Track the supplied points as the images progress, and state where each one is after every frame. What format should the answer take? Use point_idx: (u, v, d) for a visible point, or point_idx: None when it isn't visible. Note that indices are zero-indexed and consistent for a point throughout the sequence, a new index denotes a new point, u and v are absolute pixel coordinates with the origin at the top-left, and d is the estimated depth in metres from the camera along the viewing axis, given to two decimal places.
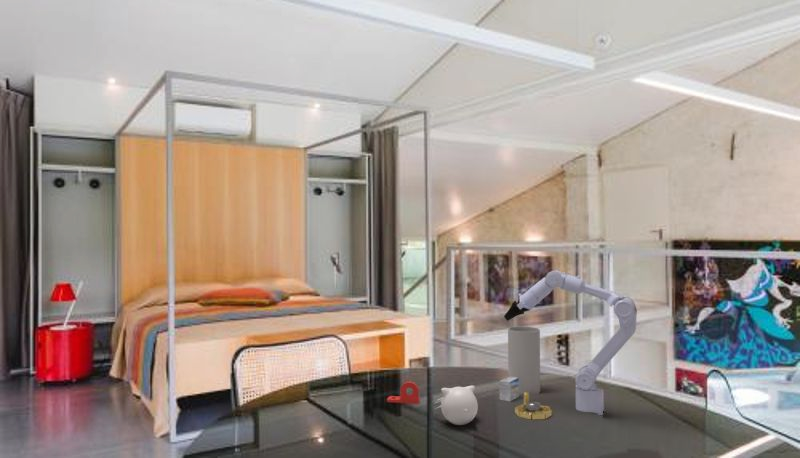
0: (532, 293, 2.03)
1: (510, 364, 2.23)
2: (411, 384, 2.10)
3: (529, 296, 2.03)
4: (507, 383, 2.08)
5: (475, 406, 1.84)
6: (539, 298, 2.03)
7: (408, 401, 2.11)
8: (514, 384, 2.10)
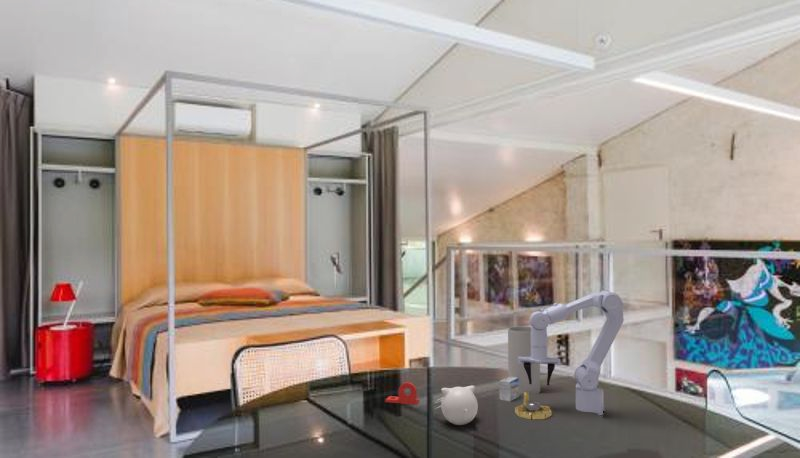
0: (546, 346, 1.98)
1: (510, 364, 2.23)
2: (409, 385, 2.10)
3: (546, 350, 1.98)
4: (507, 383, 2.08)
5: (475, 406, 1.84)
6: (545, 345, 1.97)
7: (406, 402, 2.10)
8: (514, 384, 2.10)
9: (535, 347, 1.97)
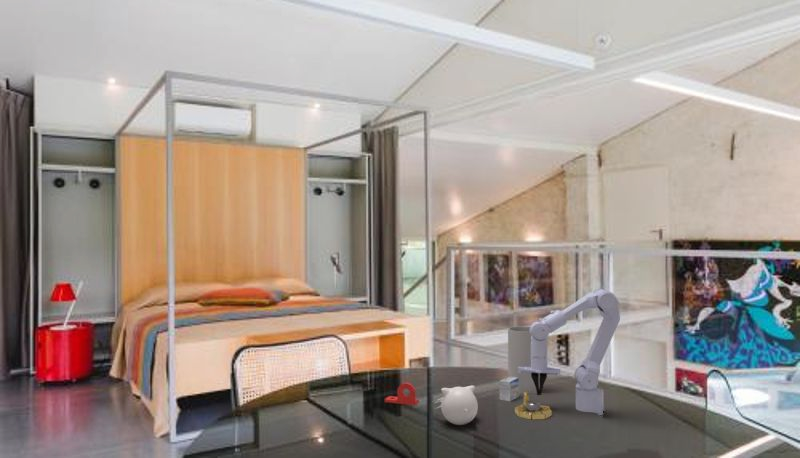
0: (546, 357, 1.98)
1: (510, 364, 2.23)
2: (408, 385, 2.09)
3: None
4: (507, 383, 2.08)
5: (475, 406, 1.84)
6: (545, 356, 1.97)
7: (405, 402, 2.09)
8: (514, 384, 2.10)
9: (535, 357, 1.97)
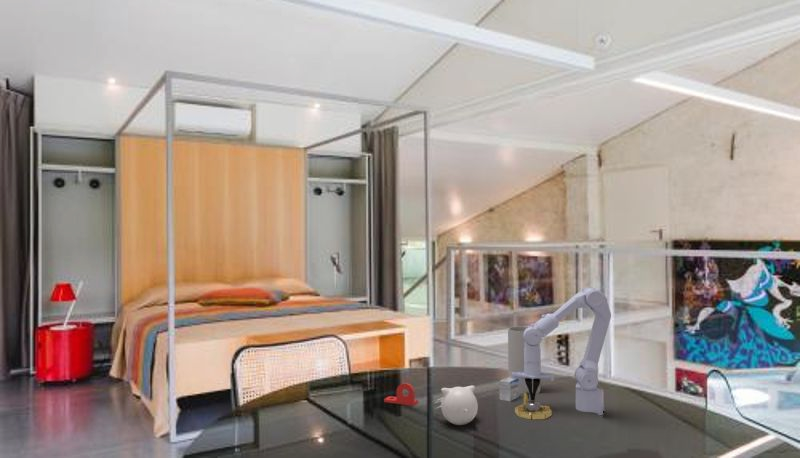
0: (540, 362, 1.98)
1: (510, 364, 2.23)
2: (407, 385, 2.09)
3: (540, 366, 1.98)
4: (507, 383, 2.08)
5: (475, 406, 1.84)
6: (539, 361, 1.98)
7: (404, 402, 2.09)
8: (514, 384, 2.10)
9: (529, 363, 1.97)
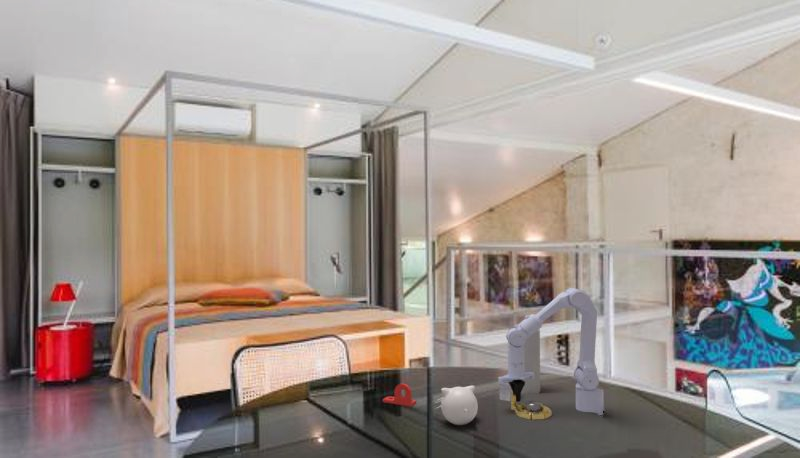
0: None
1: None
2: (404, 386, 2.08)
3: None
4: (507, 383, 2.08)
5: (475, 406, 1.84)
6: (523, 362, 1.97)
7: (401, 403, 2.08)
8: None
9: (518, 364, 1.96)
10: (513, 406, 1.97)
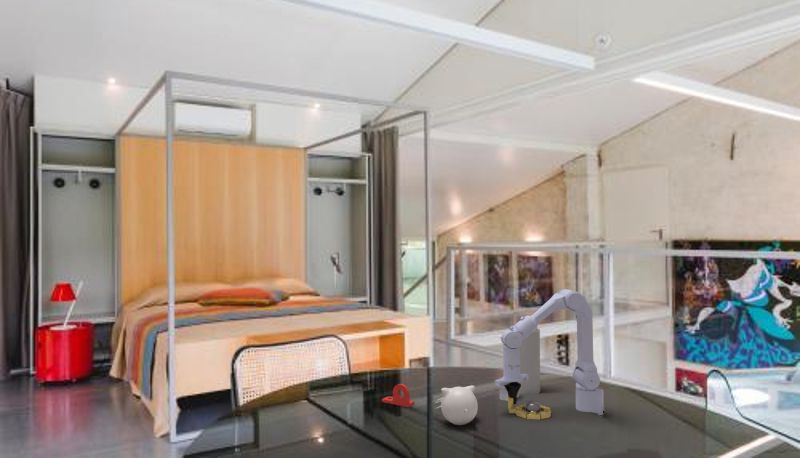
0: None
1: None
2: (402, 386, 2.07)
3: None
4: None
5: (475, 406, 1.84)
6: (519, 364, 1.94)
7: (399, 403, 2.08)
8: None
9: (514, 366, 1.93)
10: (511, 409, 1.93)
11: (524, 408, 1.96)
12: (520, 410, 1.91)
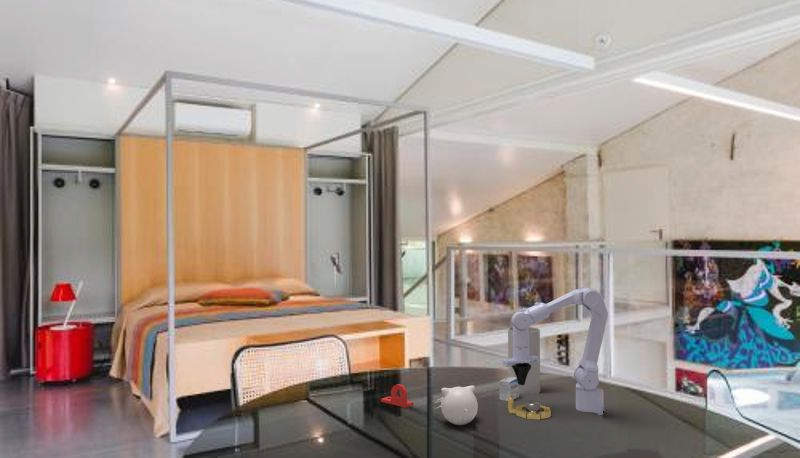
0: None
1: None
2: (399, 387, 2.07)
3: None
4: (507, 383, 2.08)
5: (475, 406, 1.84)
6: (527, 345, 1.97)
7: (397, 404, 2.08)
8: (514, 384, 2.10)
9: (523, 348, 1.96)
10: (511, 409, 1.93)
11: (524, 408, 1.96)
12: (520, 410, 1.91)
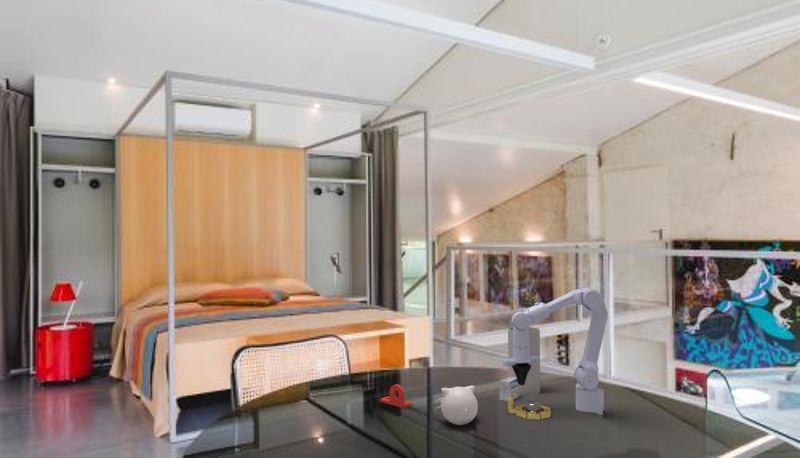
0: None
1: None
2: (397, 387, 2.07)
3: None
4: (507, 383, 2.08)
5: (475, 406, 1.84)
6: (527, 345, 1.97)
7: (395, 404, 2.07)
8: (514, 384, 2.10)
9: (523, 348, 1.96)
10: (511, 409, 1.93)
11: (524, 408, 1.96)
12: (520, 410, 1.91)
